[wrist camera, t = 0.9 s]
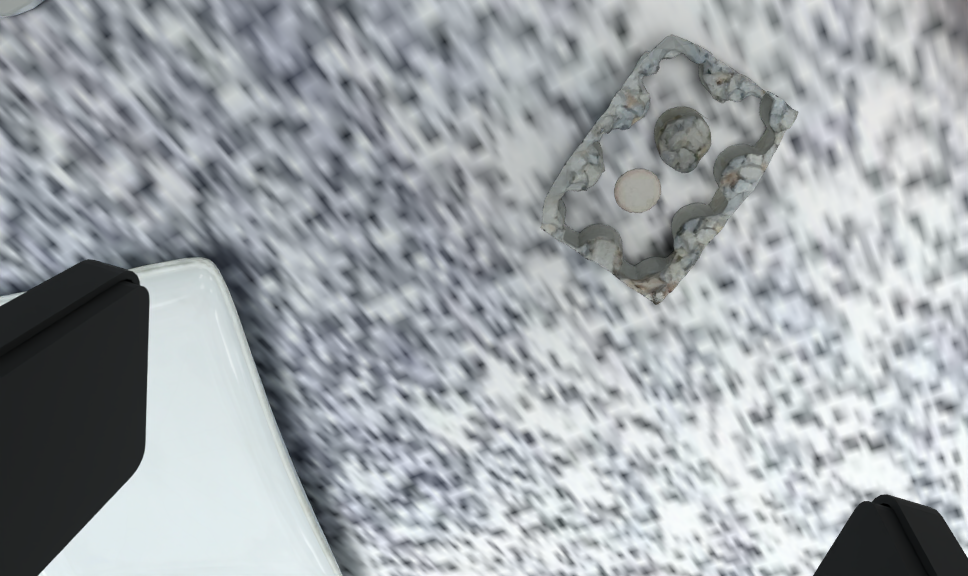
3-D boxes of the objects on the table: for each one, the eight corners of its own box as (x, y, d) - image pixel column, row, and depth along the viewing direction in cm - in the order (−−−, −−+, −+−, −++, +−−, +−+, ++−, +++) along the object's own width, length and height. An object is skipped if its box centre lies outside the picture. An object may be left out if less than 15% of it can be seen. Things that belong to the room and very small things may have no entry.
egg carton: (648, 282, 36) (654, 319, 33) (529, 202, 35) (521, 230, 32) (797, 110, 32) (824, 130, 28) (665, 13, 31) (674, 20, 27)
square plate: (242, 229, 38) (207, 256, 35) (382, 594, 49) (366, 642, 45) (-134, 302, 44) (-196, 331, 41) (61, 612, 55) (25, 656, 51)
